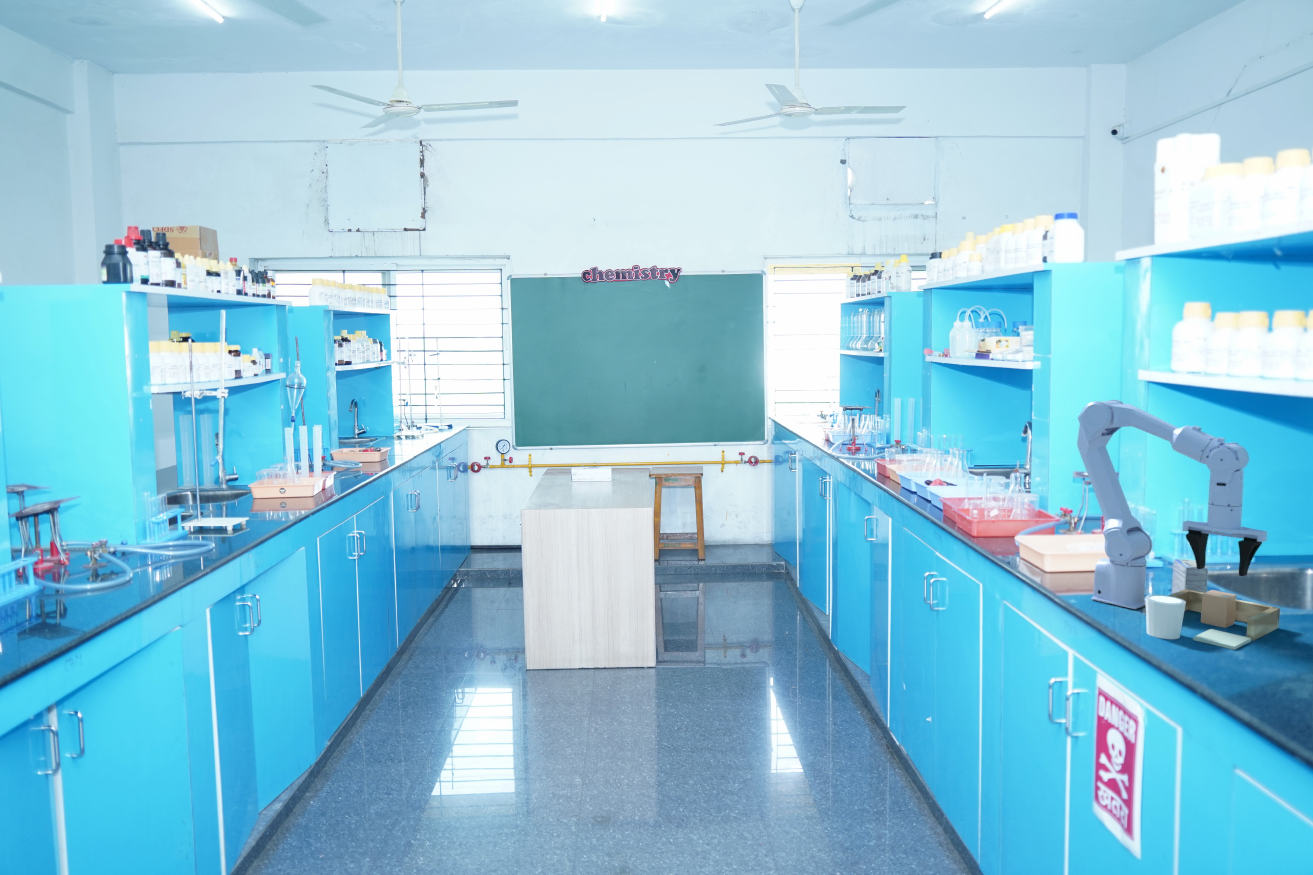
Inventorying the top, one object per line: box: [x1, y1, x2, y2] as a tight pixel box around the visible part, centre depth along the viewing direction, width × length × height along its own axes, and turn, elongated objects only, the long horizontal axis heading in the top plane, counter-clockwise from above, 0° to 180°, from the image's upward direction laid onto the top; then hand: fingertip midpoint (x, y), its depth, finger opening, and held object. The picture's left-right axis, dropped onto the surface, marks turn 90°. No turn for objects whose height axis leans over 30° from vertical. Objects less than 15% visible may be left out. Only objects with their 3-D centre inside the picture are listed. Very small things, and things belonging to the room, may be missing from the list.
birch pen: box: [1168, 589, 1281, 642], centre depth 183 cm, size 17×13×4 cm
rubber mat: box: [1192, 628, 1252, 651], centre depth 172 cm, size 7×8×1 cm
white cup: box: [1144, 594, 1186, 640], centre depth 176 cm, size 7×7×7 cm
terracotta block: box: [1200, 589, 1237, 629], centre depth 183 cm, size 4×4×6 cm
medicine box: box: [1171, 558, 1209, 594], centre depth 198 cm, size 8×4×9 cm, turn 168°
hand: (1221, 571), depth 182 cm, fingers open, 7 cm apart
